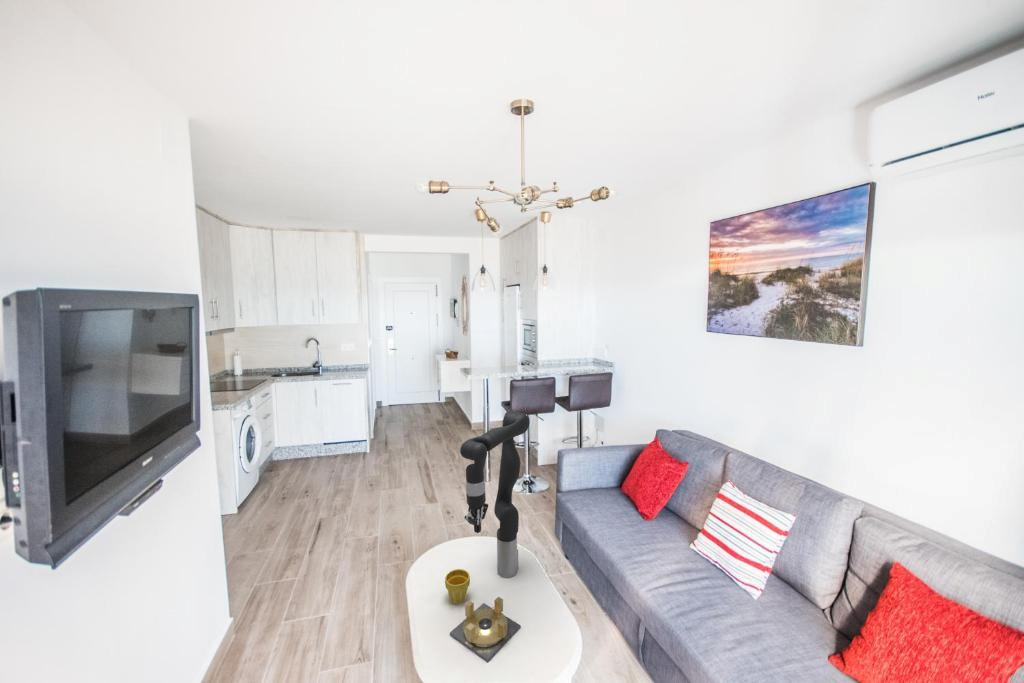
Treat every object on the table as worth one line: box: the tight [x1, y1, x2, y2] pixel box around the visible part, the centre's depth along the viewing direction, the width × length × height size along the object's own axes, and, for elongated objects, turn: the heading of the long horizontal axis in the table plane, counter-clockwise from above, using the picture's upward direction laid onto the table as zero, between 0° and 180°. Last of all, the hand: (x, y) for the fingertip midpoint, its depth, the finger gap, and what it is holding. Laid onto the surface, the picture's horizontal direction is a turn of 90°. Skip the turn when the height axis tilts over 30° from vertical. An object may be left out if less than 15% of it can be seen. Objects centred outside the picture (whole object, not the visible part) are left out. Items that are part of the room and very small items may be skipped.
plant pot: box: [444, 568, 471, 605], centre depth 174 cm, size 10×10×10 cm
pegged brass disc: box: [463, 596, 508, 647], centre depth 157 cm, size 19×19×6 cm
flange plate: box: [449, 602, 522, 663], centre depth 157 cm, size 19×19×1 cm
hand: (477, 531), depth 165 cm, fingers closed
